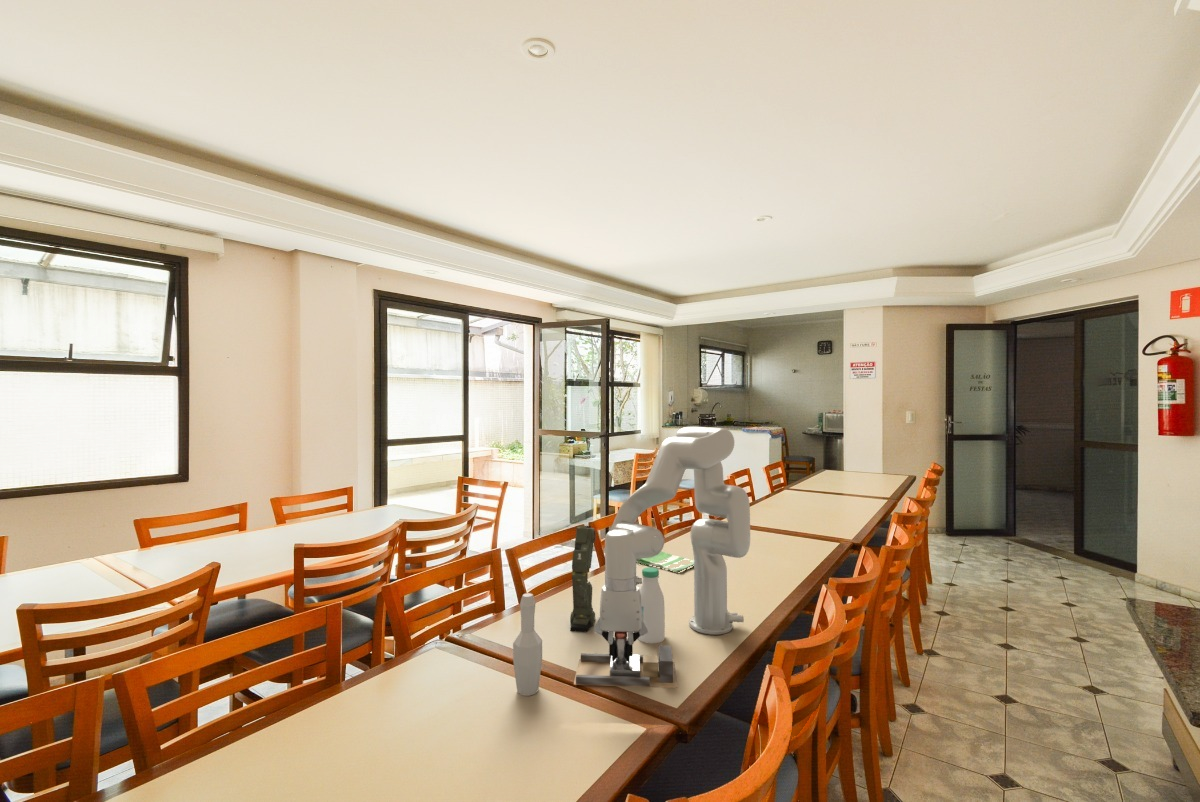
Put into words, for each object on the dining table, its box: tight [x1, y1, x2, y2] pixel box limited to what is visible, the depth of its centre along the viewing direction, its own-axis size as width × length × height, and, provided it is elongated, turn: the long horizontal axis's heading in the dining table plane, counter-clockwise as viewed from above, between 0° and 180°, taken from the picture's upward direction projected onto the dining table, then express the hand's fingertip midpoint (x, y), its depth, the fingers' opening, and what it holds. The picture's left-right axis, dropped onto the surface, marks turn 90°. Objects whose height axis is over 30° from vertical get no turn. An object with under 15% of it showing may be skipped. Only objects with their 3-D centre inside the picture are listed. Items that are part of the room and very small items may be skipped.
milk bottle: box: [637, 566, 666, 644], centre depth 147 cm, size 8×8×20 cm
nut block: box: [642, 654, 659, 677], centre depth 127 cm, size 4×4×4 cm
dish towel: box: [636, 550, 694, 573], centre depth 218 cm, size 18×23×3 cm
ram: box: [610, 632, 641, 677], centre depth 127 cm, size 7×8×10 cm
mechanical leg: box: [569, 525, 597, 633], centre depth 160 cm, size 14×7×30 cm, turn 168°
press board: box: [573, 644, 679, 689], centre depth 127 cm, size 24×12×6 cm, turn 86°
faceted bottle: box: [512, 592, 543, 697], centre depth 122 cm, size 6×6×22 cm
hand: (620, 658), depth 127 cm, fingers closed on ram, 2 cm apart
